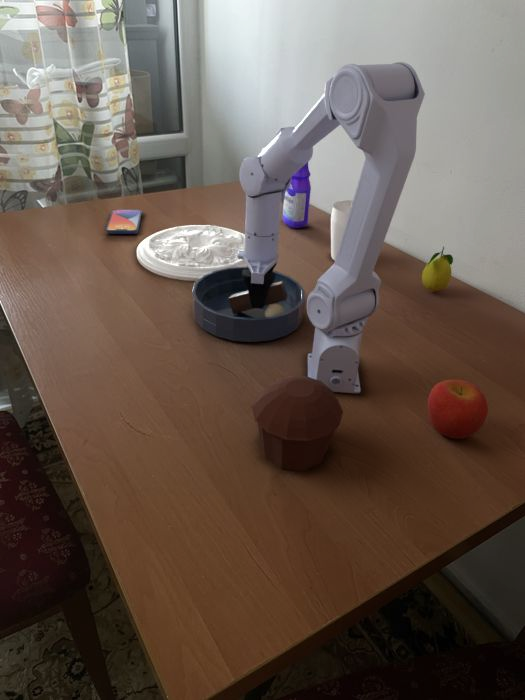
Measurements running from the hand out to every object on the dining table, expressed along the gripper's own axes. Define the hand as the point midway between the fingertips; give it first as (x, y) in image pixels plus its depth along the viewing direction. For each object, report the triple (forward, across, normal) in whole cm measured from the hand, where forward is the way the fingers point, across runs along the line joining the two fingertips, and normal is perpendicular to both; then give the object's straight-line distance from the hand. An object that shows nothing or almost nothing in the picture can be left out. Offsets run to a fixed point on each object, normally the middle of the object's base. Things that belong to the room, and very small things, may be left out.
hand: (258, 301), depth 99 cm
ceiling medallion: (+4, -26, -15) cm, 31 cm away
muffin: (+3, +33, +7) cm, 34 cm away
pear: (+3, -16, +35) cm, 39 cm away
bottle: (+4, -49, +6) cm, 49 cm away
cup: (+3, -30, +18) cm, 35 cm away
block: (0, 0, 0) cm, 1 cm away
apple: (+3, +27, +29) cm, 40 cm away
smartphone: (+3, -40, -36) cm, 54 cm away
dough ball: (+1, +2, +3) cm, 4 cm away
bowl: (+3, -1, -2) cm, 4 cm away
